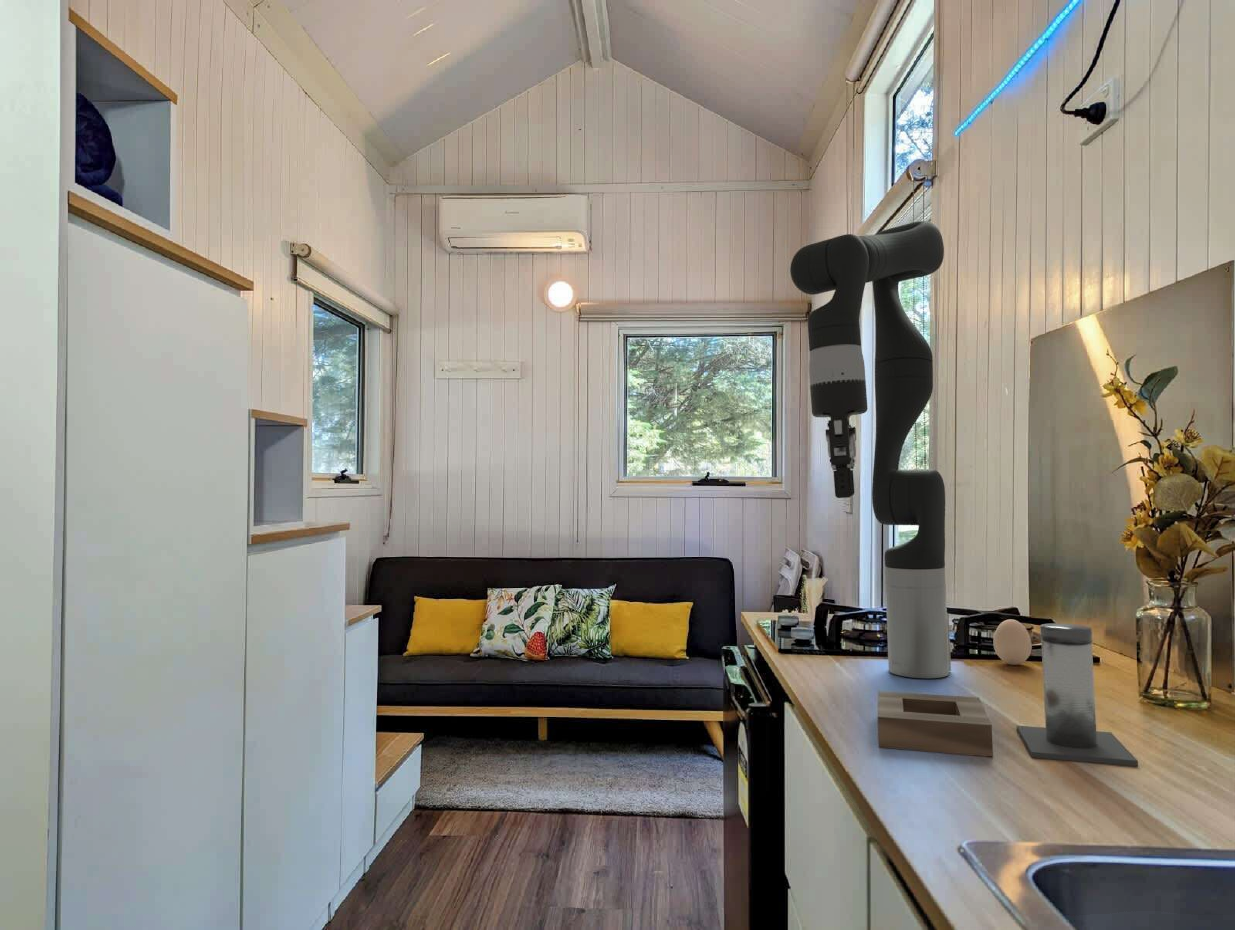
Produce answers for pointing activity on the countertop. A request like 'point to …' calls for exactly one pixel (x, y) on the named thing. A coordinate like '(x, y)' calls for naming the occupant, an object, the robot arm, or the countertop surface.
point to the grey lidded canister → (1068, 685)
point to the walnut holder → (934, 723)
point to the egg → (1012, 642)
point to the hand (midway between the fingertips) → (845, 496)
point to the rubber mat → (1104, 752)
